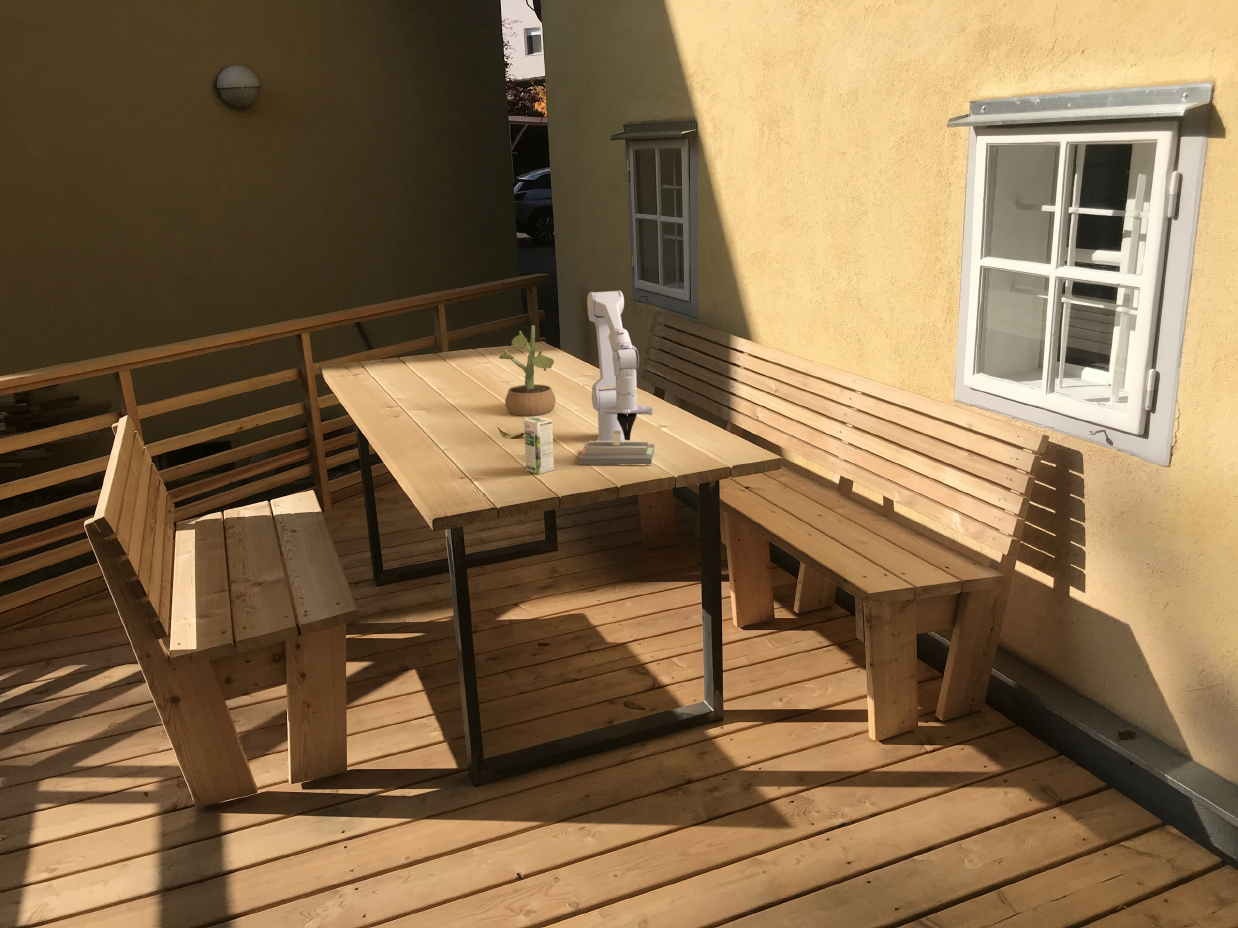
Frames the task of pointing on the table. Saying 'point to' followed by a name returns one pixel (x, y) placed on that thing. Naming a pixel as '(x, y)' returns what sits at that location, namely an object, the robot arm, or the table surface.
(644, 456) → the breaker panel
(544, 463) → the syrup box
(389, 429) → the table surface
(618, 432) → the breaker handle
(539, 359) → the potted plant
